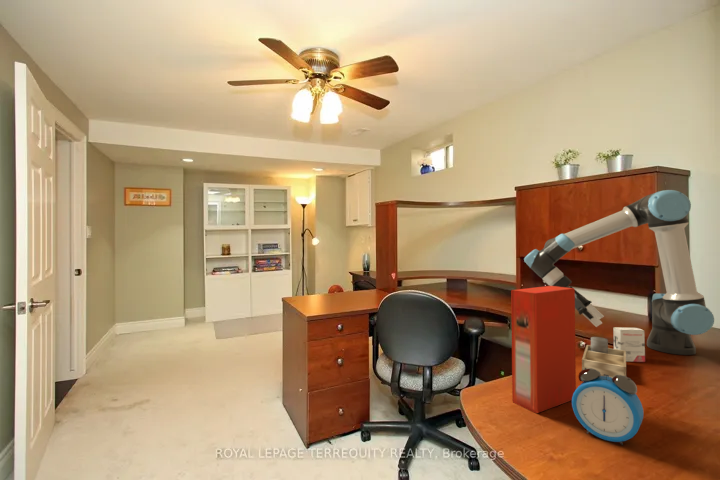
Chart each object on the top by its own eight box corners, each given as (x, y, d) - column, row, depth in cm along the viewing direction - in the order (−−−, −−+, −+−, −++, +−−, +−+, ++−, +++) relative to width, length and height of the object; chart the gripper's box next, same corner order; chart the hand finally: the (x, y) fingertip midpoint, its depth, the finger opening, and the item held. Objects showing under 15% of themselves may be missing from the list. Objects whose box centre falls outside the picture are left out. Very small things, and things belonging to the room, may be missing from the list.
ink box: (636, 357, 135) (636, 326, 135) (645, 362, 130) (645, 330, 130) (612, 357, 136) (612, 326, 136) (620, 361, 131) (620, 329, 131)
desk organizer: (625, 364, 128) (625, 339, 128) (626, 382, 112) (626, 354, 112) (586, 357, 135) (586, 334, 135) (581, 374, 119) (581, 347, 119)
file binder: (511, 401, 100) (511, 289, 100) (549, 388, 108) (549, 285, 108) (537, 414, 93) (537, 293, 92) (575, 399, 101) (575, 288, 101)
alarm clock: (571, 429, 85) (571, 368, 85) (578, 420, 89) (578, 361, 89) (639, 453, 76) (639, 384, 76) (644, 441, 80) (644, 376, 80)
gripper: (554, 283, 159) (594, 321, 150) (544, 290, 139) (589, 334, 130) (568, 272, 155) (609, 310, 147) (560, 277, 135) (607, 321, 127)
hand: (600, 321), depth 138 cm, fingers open, 13 cm apart
